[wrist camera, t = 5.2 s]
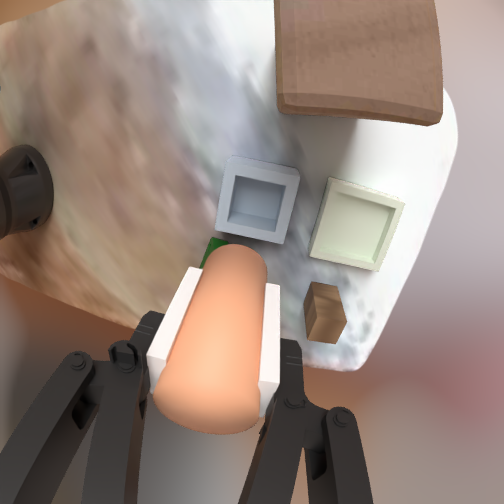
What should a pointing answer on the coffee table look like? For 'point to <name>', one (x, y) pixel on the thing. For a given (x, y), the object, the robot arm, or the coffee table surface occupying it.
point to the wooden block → (359, 59)
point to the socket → (256, 199)
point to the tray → (354, 225)
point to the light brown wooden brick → (324, 313)
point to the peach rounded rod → (218, 348)
